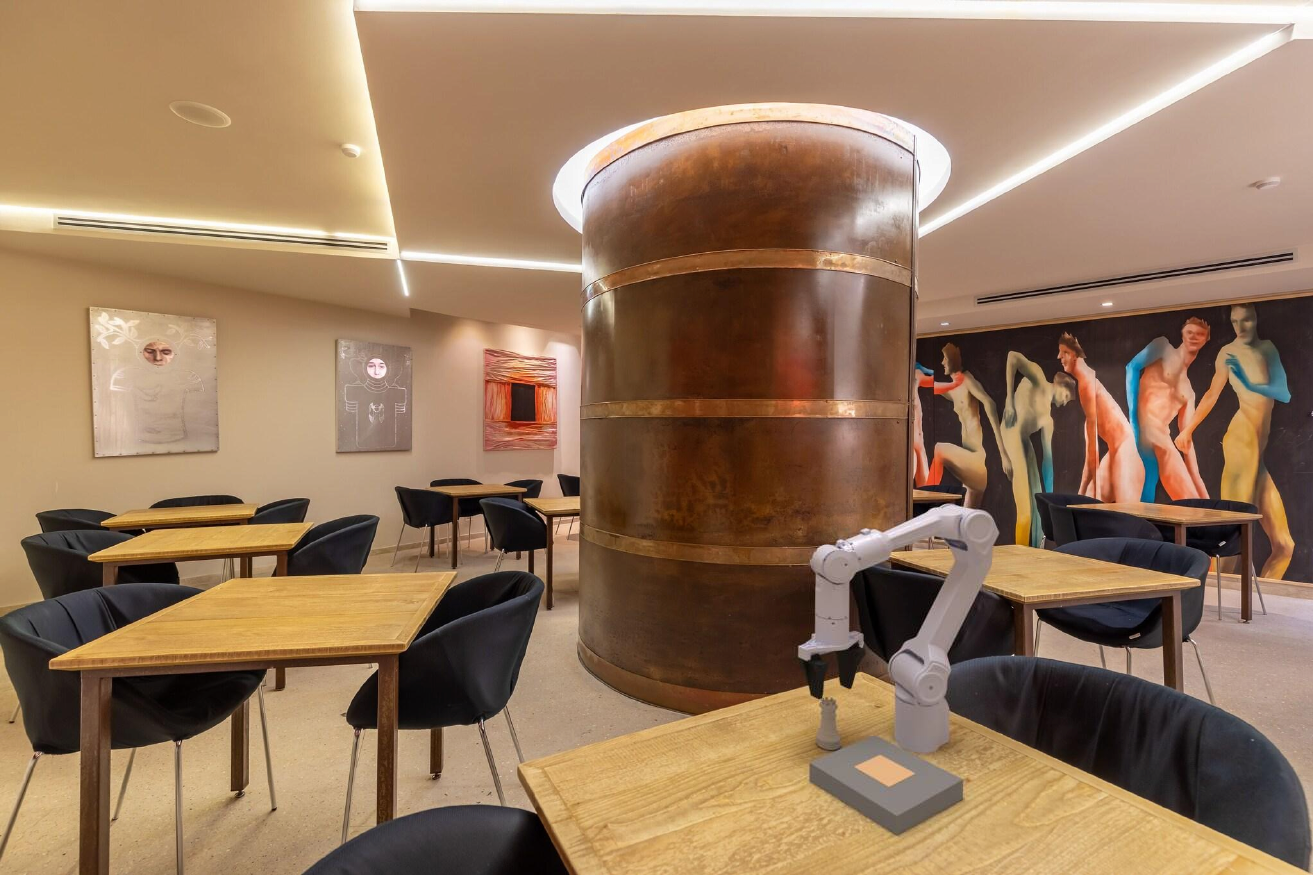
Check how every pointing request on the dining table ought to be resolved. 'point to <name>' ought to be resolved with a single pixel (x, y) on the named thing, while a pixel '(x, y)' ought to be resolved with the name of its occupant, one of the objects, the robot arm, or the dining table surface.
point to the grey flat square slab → (886, 783)
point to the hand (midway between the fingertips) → (831, 691)
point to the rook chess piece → (828, 726)
